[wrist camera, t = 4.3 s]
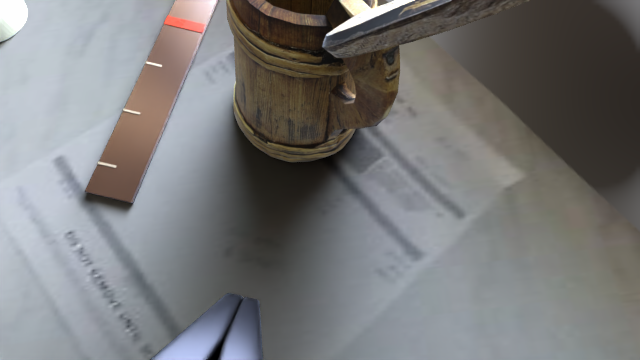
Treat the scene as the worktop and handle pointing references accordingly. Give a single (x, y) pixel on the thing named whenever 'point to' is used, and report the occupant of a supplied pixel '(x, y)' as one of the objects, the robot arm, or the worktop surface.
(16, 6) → the mug
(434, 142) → the worktop surface
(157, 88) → the ruler
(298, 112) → the wooden mug
